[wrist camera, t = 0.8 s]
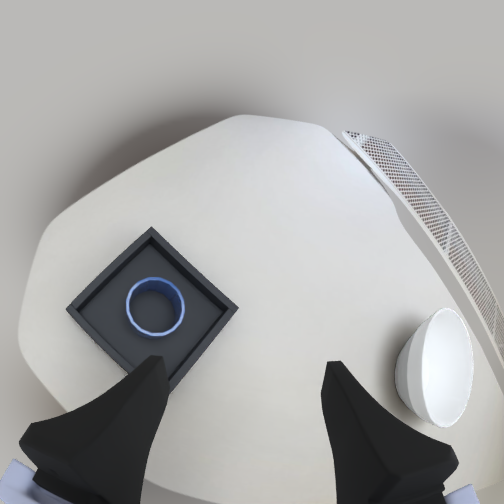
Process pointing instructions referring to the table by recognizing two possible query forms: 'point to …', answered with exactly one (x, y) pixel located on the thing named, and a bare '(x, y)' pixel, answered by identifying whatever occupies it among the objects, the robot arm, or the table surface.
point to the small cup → (163, 288)
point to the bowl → (436, 369)
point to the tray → (152, 308)
